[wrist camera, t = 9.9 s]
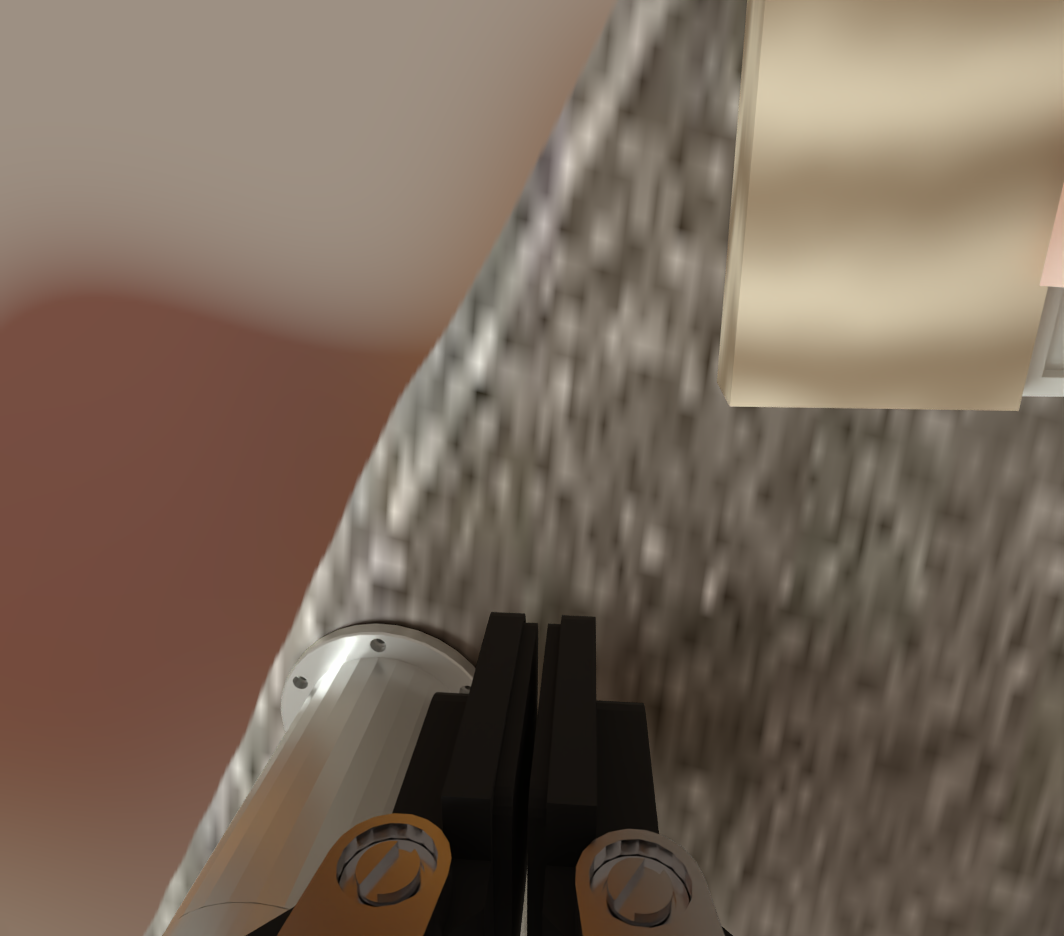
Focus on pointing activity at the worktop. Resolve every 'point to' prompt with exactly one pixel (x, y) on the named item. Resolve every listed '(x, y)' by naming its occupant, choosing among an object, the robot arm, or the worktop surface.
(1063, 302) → the box
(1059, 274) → the tile
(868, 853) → the worktop surface
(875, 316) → the beige rectangular block
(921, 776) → the worktop surface
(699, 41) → the worktop surface
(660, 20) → the worktop surface
